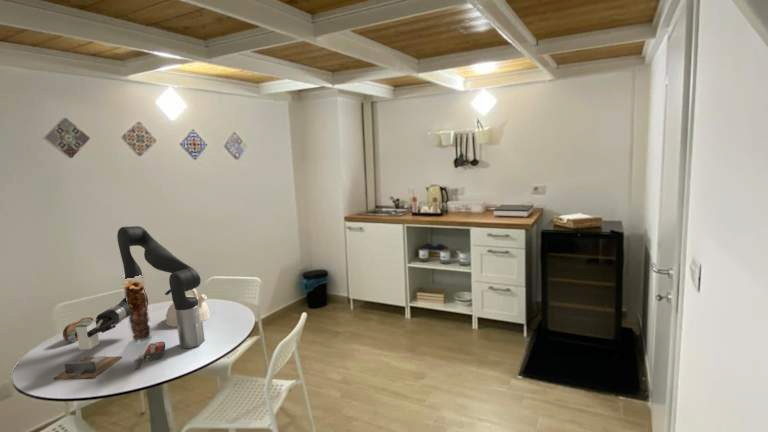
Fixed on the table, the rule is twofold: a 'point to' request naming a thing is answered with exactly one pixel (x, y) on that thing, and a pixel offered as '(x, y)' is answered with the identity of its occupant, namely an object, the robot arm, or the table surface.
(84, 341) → the block
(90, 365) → the block
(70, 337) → the tin
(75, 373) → the rail
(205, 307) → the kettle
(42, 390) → the table surface
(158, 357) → the walkie-talkie
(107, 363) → the mounting board
